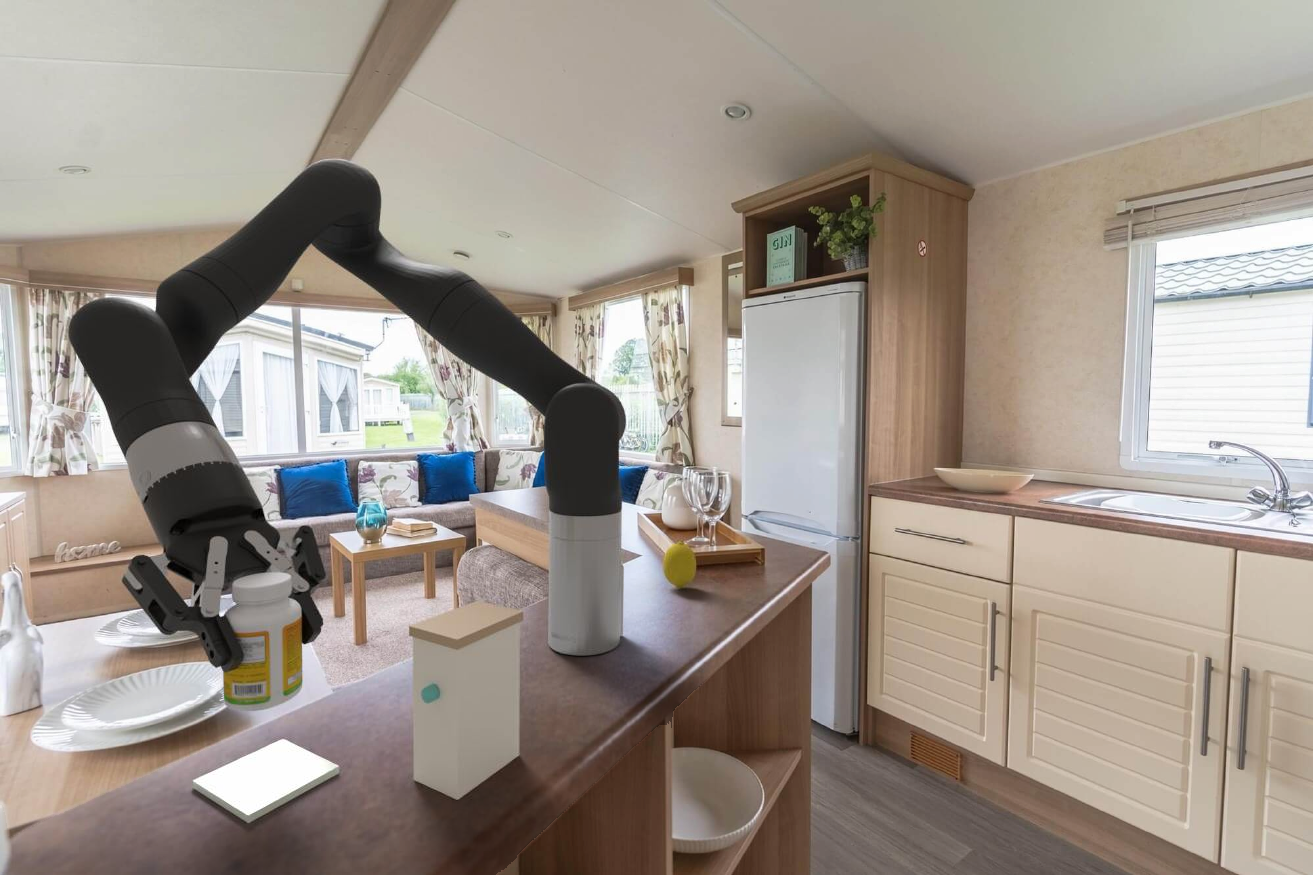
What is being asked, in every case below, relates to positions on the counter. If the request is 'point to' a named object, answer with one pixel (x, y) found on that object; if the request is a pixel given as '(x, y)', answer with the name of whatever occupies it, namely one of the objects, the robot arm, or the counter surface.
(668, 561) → the lemon
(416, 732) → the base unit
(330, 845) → the counter surface
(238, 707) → the supplement bottle
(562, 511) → the robot arm
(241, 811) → the plate
